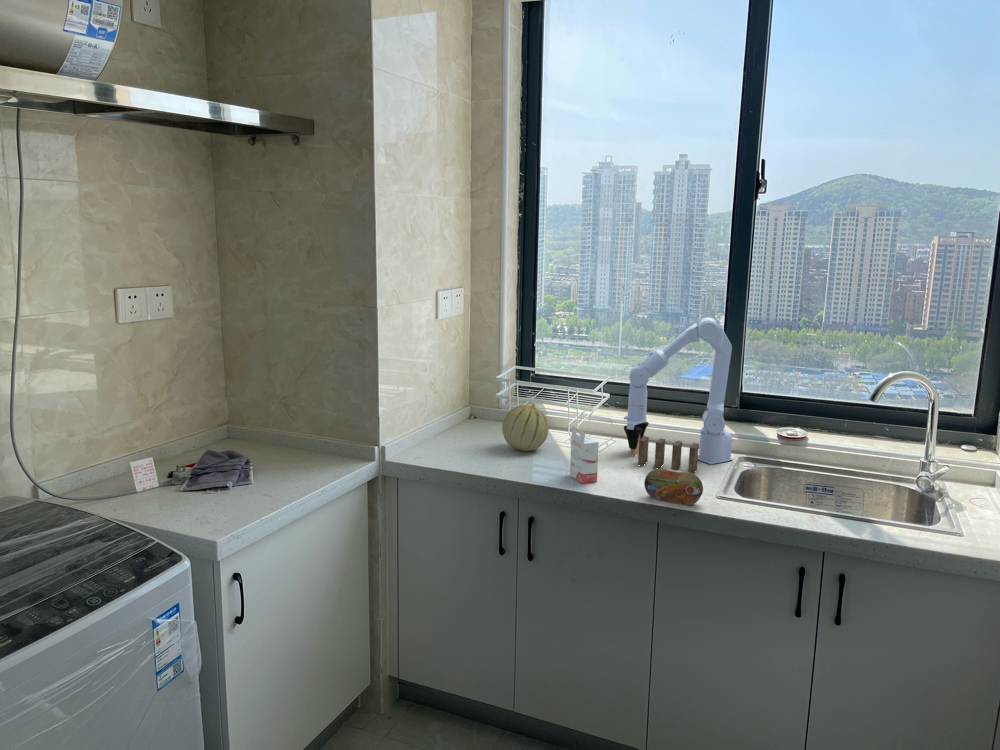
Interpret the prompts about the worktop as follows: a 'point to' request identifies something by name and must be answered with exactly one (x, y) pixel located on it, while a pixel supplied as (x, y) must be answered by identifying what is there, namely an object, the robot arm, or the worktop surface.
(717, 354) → the robot arm
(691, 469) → the domino
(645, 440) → the domino
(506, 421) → the cantaloupe
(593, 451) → the ink cartridge box
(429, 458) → the worktop surface
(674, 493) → the tin
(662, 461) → the domino
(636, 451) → the domino
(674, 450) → the domino
